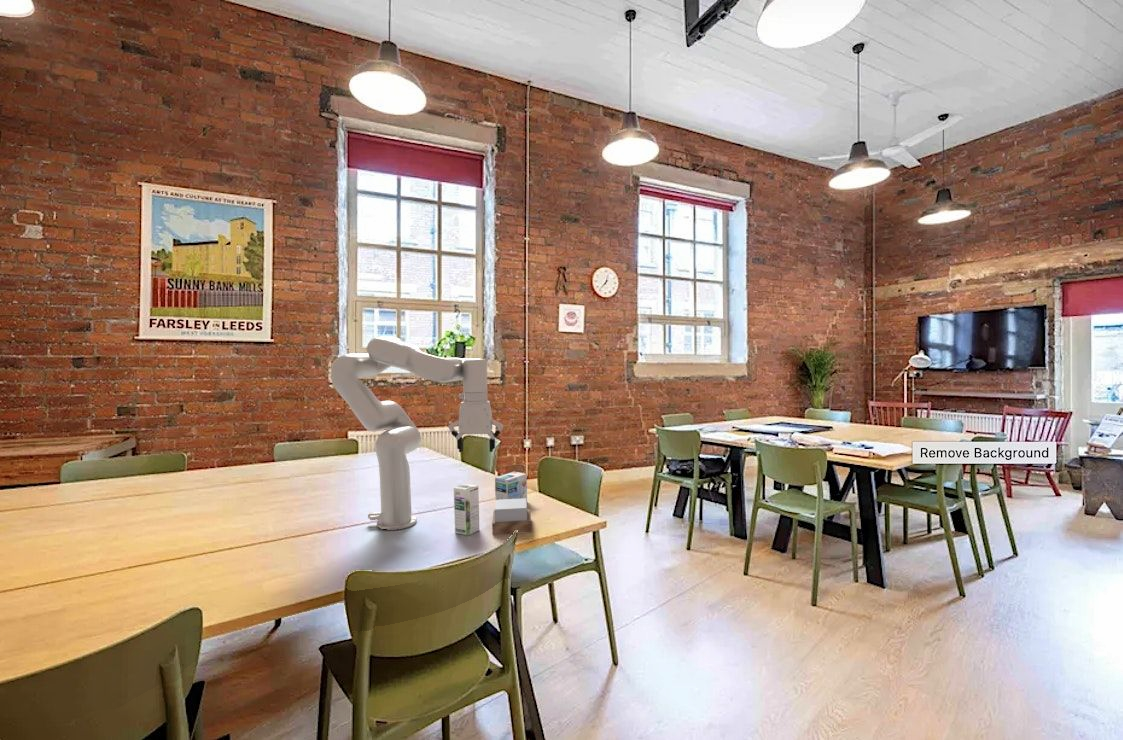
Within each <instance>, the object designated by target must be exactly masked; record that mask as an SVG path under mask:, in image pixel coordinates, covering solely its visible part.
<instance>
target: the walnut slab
mask: <svg viewBox="0 0 1123 740" xmlns="http://www.w3.org/2000/svg"><path fill="white" fill-rule="evenodd" d="M492 513H493V515H492V521H491V522H492V523H491V526H492V527H491V529H492V530H491V531H492V533H491V534H492V535H495V536H496V535H509V534H511V535H513V534H514V533H513V532H514V531H515V530H518V532H529V533H531V532H532V519H531V518H532V516H531V509H530V508H527V521H509V522H495V514H494V511H493V512H492ZM530 531H531V532H530Z"/></svg>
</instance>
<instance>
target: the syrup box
mask: <svg viewBox="0 0 1123 740" xmlns="http://www.w3.org/2000/svg"><path fill="white" fill-rule="evenodd" d="M479 492H480V491H479V485H474V484H468V483H463V484H459V485H455V487H454V488H453V507H454V511H453V512H454V534H460V535H464V536H469V537H470V535H473V534H475V533H476V532H477V531H480V502H479V500H480V499H479V498H480V497H479Z"/></svg>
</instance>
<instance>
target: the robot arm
mask: <svg viewBox="0 0 1123 740" xmlns="http://www.w3.org/2000/svg"><path fill="white" fill-rule="evenodd" d="M367 343H368V344H367V346H366V353H365V352H363V353H357V352H356V353H353V352H352V353H346V354H342V355H340V356H339V357H337V358H336V359H335V360H334V362H333V363H332V365H331V369H330V379H331V383H332V386H333V387H334V389H335V390H336V392H337V393H338V394H339V395H340V397H341V398H342V399H343V400H344V401H345V403H346V404H347V405H348V407H349V408H350V410H351V411H352V412H353V415H355V417H356V418H357V419H358V421H359V422H360V423H361V425H362V426H363V427H364V428H365V429H366V431H369V432H371V433H374V432H380V431H381V432H382V431H383V430H385V431H383V432H382V433H380V434H379V436H378V437H377V438H376V441H375V445H374V446H375V448H374V449H375V454H376V457H377V463H378V473H379V475H378V476H379V491H380V492H379V494H380V510H379V511H378V512H373V511H372V512H368V514H367V518H368V519H369V520H370V521H375V520H377V521H376V527H377V528H378V527H379V528H381V529H380V530H382V529H387V530H386V531H398V530H404V529H406V528H409V527H412V526H414V525H415V524H416V523H417V520H418V518H417V516H416V515H414V514H412V513H413V511H412V491H411V490H412V489H411V469H410V465H409V461H408V459H407V454H410V453H411V452H414V451H415V450H417V449H418V448H419V447H420V445H421V442H422V436H421V433H420V431H419V429H418V427H417V426H416V424H415V423H414V422H413V420H412V419H411V418H410V417H409V415H408V414H407V412H406V411H405V410H404V409H403V408H402V406H401V405H400V404H398V403H397V402H396V401H392V400H382V401H381V400H379V398H377V396H376V395H375V394H374V393H373V391H372V390H371V389H370V388H369V387H368V386H367V385H366V384H365V383H364V382H362V381H361V380H360V379H367V378H372V377H375V376H378V375H379V374H381V373H382V372H384V371H386V370H388V369H389V368H391V367H394V368H396V369H401V370H404V371H408V372H409V373H411V374H413V375H415V376H418V377H420V378H422V379H426V380H429V381H433V382H437V383H443V384H444V383H445V384H446V383H452V382H458V381H462V387H463V388H462V392H461V393H459V394H458V399H462V401H461V402H460V404H459V413H458V420H455V422H452V423H450V424H448V425H447V427H448V430H449V431H450V432H451V433H450V434H451V435H452V436H453V437H454V438H455V439H456V444H457V445H456V448H457V450H458V453H462V452H463V450H464V438H463V435H488V437H489V453H492V452H493V451H494V450H495V448H496V438H497V437H498V436H499V435H500V433H501V432H502V430H503V428H504V424H502V423H501V422H500V421H496V420H494V419H493V416H492V408H491V403H490V400H489V399H488V363H487V360H486V359H484V358H479V357H477V358H461V357H439V356H437V355H432V354H428V353H425V352H423V351H421V348H420V347H419V346H417V345H416V344H411V343H408V342H404V341H402V340H401V339H400V338H398V337H395V336H376V337H375V338H372V339H370V341H368V342H367ZM456 426H458V431H457V430H456V429H455V427H456ZM493 426H494V427H497V430H496V431H493ZM379 528H378V529H379ZM397 529H398V530H397Z"/></svg>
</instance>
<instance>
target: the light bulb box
mask: <svg viewBox="0 0 1123 740" xmlns="http://www.w3.org/2000/svg"><path fill="white" fill-rule="evenodd" d="M527 485H528V478H527V473H524V472H519V471H512V472H508V473H504V474H502V475H499V476H495V477H494V488H495V489H494V491H495V492H494V493H495V501H496V500H501V499H521V498H526V503H528V486H527Z"/></svg>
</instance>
